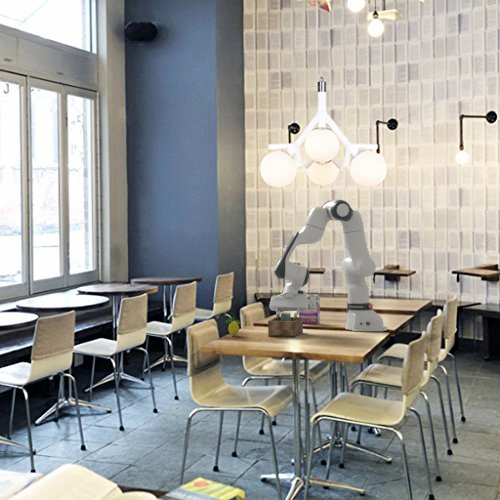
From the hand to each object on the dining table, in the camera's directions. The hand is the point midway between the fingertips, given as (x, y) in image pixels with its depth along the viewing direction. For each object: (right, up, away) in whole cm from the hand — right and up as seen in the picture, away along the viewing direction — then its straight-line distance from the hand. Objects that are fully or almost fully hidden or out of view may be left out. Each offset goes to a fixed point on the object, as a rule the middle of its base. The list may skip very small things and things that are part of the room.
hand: (286, 316), depth 412 cm
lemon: (-27, -10, -3) cm, 29 cm away
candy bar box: (+15, -8, +39) cm, 42 cm away
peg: (0, -8, 0) cm, 8 cm away
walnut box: (0, -9, 0) cm, 9 cm away
